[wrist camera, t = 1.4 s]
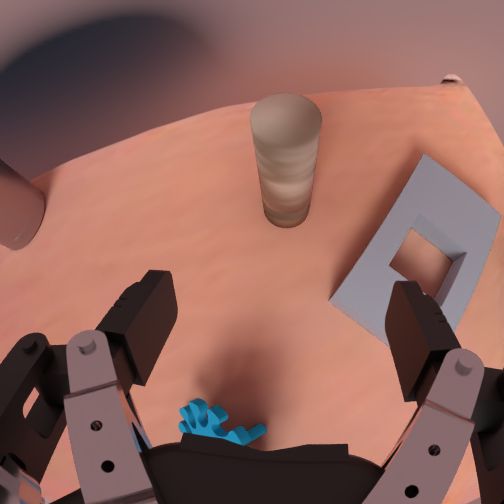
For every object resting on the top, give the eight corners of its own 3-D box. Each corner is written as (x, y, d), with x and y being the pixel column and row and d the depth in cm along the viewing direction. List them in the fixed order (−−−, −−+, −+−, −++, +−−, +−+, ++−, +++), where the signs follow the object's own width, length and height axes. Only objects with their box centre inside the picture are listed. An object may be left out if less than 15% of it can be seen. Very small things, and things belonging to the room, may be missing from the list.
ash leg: (254, 211, 30) (235, 122, 18) (281, 180, 31) (278, 84, 19) (291, 236, 29) (295, 155, 17) (317, 203, 30) (334, 112, 17)
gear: (159, 401, 24) (223, 408, 17) (211, 380, 28) (285, 373, 21) (205, 498, 22) (278, 529, 15) (249, 471, 26) (326, 486, 19)
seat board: (328, 301, 27) (333, 295, 24) (414, 168, 30) (424, 153, 27) (418, 368, 24) (432, 370, 21) (487, 225, 27) (501, 215, 24)
